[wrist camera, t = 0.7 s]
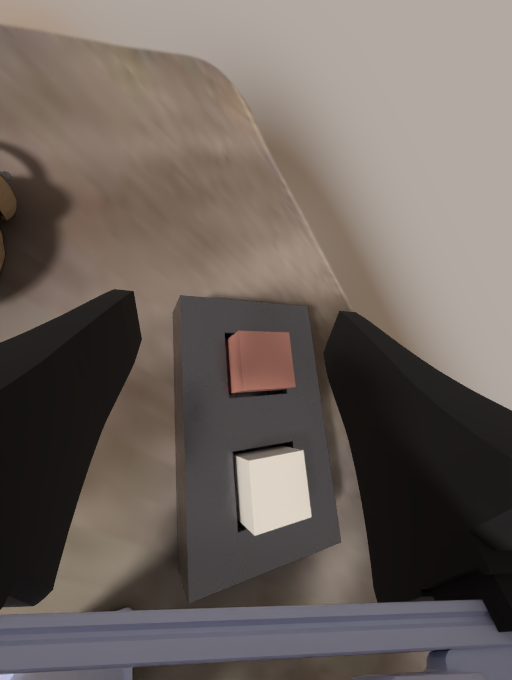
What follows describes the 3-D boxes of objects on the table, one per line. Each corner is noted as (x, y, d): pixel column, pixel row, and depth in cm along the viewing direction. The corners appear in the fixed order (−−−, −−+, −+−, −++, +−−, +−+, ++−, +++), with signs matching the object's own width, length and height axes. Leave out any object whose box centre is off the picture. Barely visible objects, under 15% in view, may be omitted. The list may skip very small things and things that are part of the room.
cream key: (289, 504, 21) (311, 517, 19) (237, 519, 19) (254, 535, 17) (282, 445, 22) (303, 450, 20) (233, 454, 20) (248, 460, 18)
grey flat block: (311, 524, 25) (341, 542, 21) (178, 569, 20) (188, 603, 16) (286, 319, 29) (307, 306, 26) (172, 312, 24) (180, 295, 21)
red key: (276, 390, 23) (295, 387, 21) (229, 393, 21) (243, 390, 19) (271, 341, 24) (289, 332, 22) (225, 340, 22) (238, 330, 20)
